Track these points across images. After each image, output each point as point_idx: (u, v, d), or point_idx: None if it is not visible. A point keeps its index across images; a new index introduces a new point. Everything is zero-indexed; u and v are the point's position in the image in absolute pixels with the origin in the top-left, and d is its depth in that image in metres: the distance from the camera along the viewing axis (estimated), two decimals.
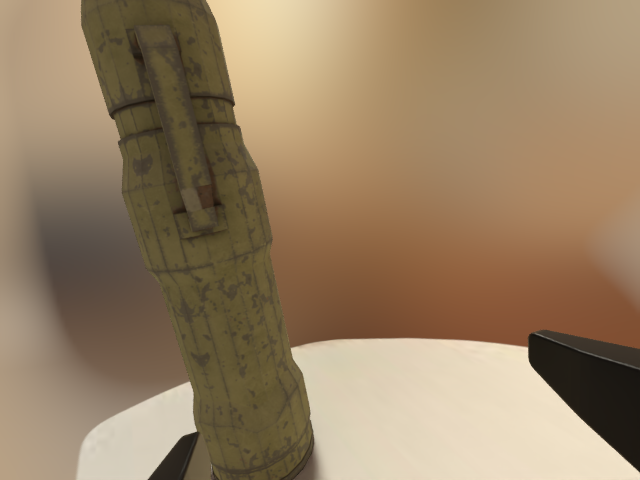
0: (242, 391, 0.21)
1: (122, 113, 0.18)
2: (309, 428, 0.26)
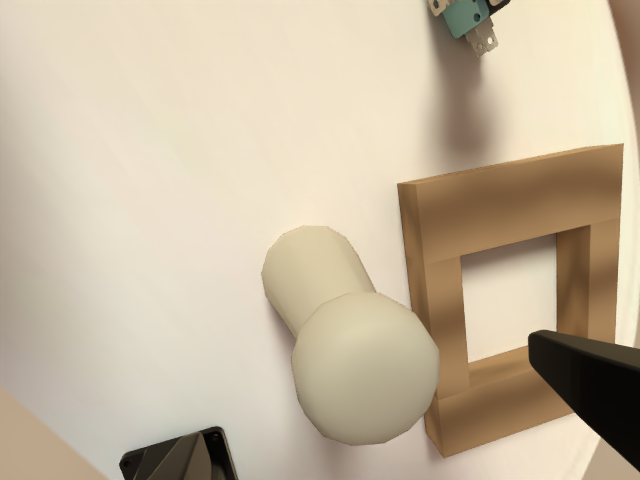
0: None
1: None
2: None
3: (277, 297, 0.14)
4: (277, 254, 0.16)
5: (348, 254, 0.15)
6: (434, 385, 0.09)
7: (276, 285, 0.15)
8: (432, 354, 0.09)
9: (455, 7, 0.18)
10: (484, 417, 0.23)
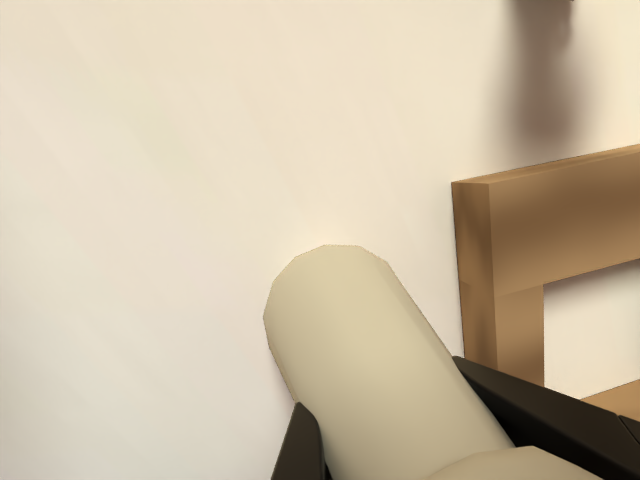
0: None
1: None
2: None
3: (290, 376, 0.08)
4: (288, 294, 0.11)
5: (404, 298, 0.09)
6: None
7: (288, 351, 0.09)
8: None
9: None
10: None
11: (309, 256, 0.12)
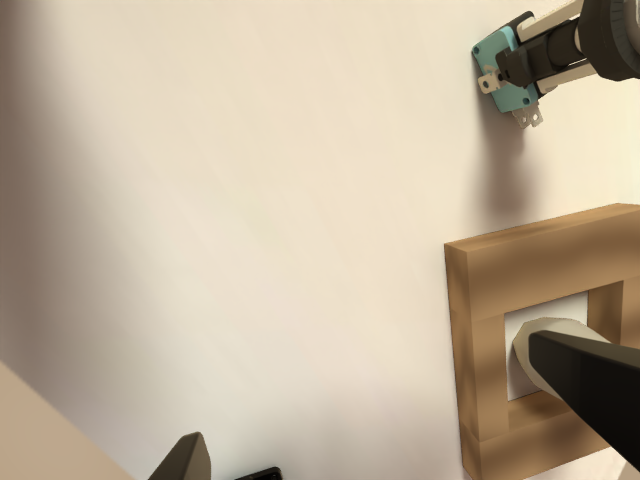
0: None
1: None
2: None
3: None
4: None
5: None
6: None
7: None
8: None
9: (504, 88, 0.20)
10: (521, 456, 0.25)
11: (556, 328, 0.23)
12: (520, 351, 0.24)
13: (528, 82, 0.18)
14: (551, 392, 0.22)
